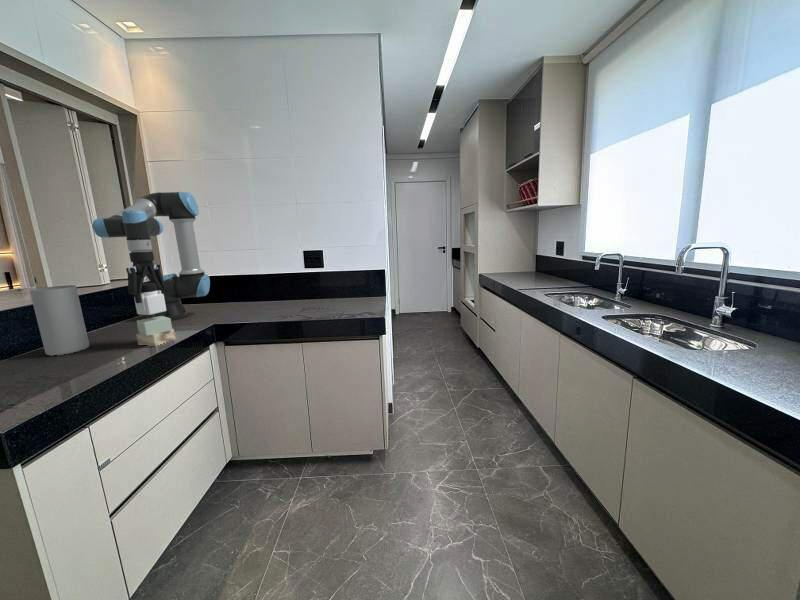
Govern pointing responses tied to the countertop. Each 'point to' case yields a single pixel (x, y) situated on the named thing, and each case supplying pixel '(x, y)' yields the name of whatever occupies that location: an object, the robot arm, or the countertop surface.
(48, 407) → the countertop surface
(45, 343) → the cylinder vase
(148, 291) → the medicine bottle
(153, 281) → the robot arm
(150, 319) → the upper block
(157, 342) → the lower block
